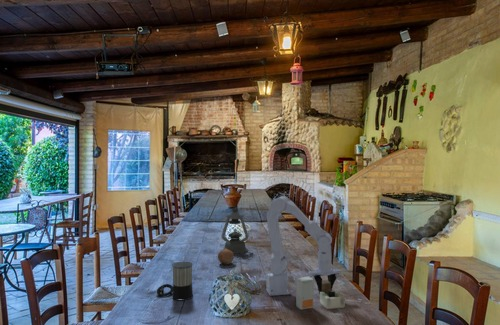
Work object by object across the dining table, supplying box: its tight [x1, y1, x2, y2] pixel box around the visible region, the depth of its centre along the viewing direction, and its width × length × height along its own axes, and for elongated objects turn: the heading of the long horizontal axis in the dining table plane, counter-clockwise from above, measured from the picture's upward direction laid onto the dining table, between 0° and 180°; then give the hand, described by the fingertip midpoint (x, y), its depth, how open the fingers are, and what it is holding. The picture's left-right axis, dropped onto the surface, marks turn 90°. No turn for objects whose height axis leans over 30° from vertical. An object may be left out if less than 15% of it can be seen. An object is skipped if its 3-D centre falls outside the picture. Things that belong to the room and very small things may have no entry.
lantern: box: [221, 207, 249, 255], centre depth 257 cm, size 18×20×30 cm
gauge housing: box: [319, 290, 346, 310], centre depth 162 cm, size 8×8×4 cm
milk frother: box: [156, 261, 194, 300], centre depth 173 cm, size 14×16×15 cm
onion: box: [217, 247, 235, 266], centre depth 224 cm, size 10×9×10 cm
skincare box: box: [295, 276, 315, 310], centre depth 159 cm, size 6×4×12 cm
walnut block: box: [318, 279, 331, 296], centre depth 170 cm, size 4×4×6 cm
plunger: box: [323, 290, 336, 298], centre depth 164 cm, size 7×4×4 cm, turn 10°
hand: (324, 291), depth 169 cm, fingers closed on walnut block, 4 cm apart
